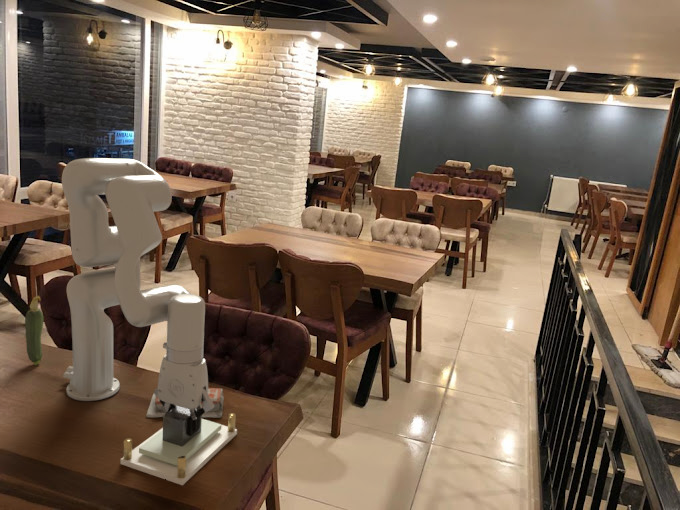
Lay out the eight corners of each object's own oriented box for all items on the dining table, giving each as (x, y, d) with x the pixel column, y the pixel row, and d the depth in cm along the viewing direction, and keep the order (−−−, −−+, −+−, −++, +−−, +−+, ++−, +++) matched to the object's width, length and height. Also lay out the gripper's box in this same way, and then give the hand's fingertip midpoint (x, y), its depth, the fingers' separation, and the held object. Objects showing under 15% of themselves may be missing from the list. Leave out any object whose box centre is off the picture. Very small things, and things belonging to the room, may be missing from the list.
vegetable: (23, 365, 153) (20, 296, 148) (34, 359, 157) (31, 292, 152) (37, 367, 152) (35, 298, 148) (48, 361, 156) (46, 294, 152)
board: (138, 452, 116) (139, 422, 114) (184, 418, 131) (185, 390, 129) (179, 466, 113) (180, 435, 111) (221, 429, 128) (222, 400, 126)
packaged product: (224, 382, 145) (222, 401, 135) (223, 399, 146) (222, 419, 136) (153, 381, 142) (145, 401, 132) (152, 399, 143) (145, 419, 133)
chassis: (120, 464, 115) (120, 441, 114) (182, 417, 135) (182, 398, 133) (182, 485, 110) (183, 462, 109) (237, 434, 130) (238, 414, 129)
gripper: (140, 349, 116) (139, 427, 121) (209, 368, 111) (206, 448, 115) (162, 338, 123) (161, 412, 127) (229, 355, 118) (225, 431, 122)
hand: (182, 428), depth 121 cm, fingers closed on board, 5 cm apart
